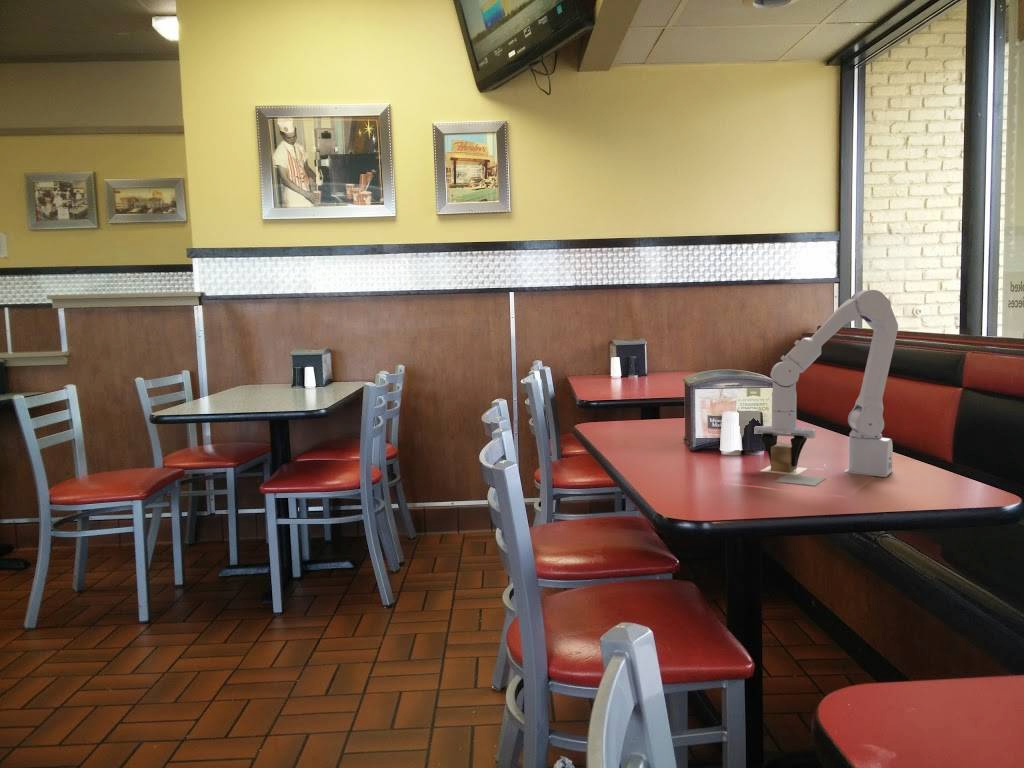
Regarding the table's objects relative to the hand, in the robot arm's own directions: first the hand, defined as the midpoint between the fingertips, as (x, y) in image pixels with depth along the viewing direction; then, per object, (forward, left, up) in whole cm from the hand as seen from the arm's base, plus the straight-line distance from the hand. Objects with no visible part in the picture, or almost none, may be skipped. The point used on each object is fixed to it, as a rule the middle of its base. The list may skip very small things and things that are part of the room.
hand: (783, 464), depth 191 cm
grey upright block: (+17, -22, -2) cm, 28 cm away
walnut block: (0, 0, -1) cm, 1 cm away
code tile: (0, 0, -2) cm, 2 cm away
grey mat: (-7, +10, -2) cm, 12 cm away
